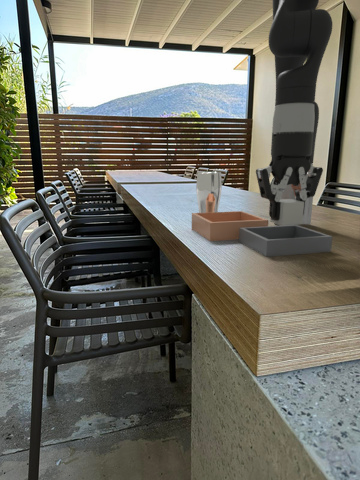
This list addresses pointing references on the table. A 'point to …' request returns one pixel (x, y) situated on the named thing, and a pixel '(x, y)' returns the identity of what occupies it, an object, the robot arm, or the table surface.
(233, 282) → the table surface
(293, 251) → the charcoal bin
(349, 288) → the table surface
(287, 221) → the off-white cube block
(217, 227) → the terracotta tray
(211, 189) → the silver metal tumbler
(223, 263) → the table surface
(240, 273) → the table surface
